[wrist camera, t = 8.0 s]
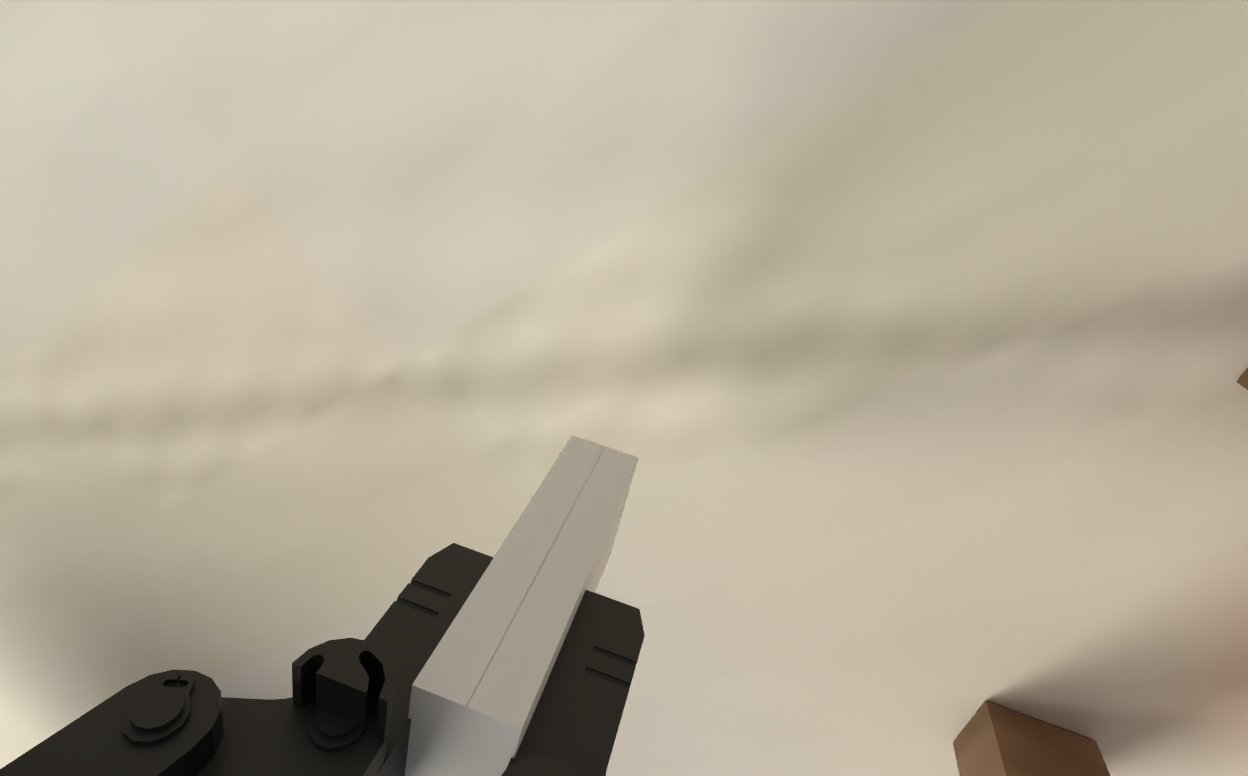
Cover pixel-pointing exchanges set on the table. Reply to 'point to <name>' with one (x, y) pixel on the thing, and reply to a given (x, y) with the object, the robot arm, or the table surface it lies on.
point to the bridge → (1026, 741)
